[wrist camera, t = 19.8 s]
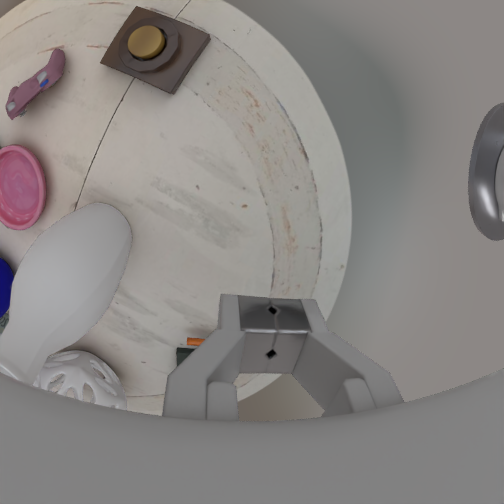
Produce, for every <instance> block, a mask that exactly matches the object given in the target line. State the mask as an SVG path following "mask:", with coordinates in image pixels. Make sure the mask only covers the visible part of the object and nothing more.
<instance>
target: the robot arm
mask: <svg viewBox="0 0 504 504" xmlns="http://www.w3.org/2000/svg"><path fill="white" fill-rule="evenodd" d="M495 193H496V199H497V202H498V206H499V220H501V221H503V222H504V148H503V150H502V152H501V154H500V157H499V160H498V164H497V169H496V176H495ZM239 373H280V374H292V375H293V376H294V377H295V379H296V380H297V381H298V382H299V383H300V384H301V385H302V386H303V388H304V389H305V390H306V391H307V392H308V393H309V394H310V395H311V396H312V397H313V398H314V399H315V401H316V402H317V403H318V404H319V405H320V406H321V407H322V408H323V409H324V410H325V412H324V413H323V414H322V416H321V417H319V418H310V419H297V420H282V421H239V416H238V403H237V391H236V386H235V385H234V384H233V382H234V381H235V379H236V378H237V376H238V375H239ZM0 504H504V368H503V369H501V370H499V371H496V372H494V373H492V374H489V375H487V376H484V377H482V378H479V379H477V380H474V381H472V382H469V383H466V384H464V385H461V386H458V387H455V388H452V389H449V390H446V391H443V392H440V393H437V394H434V395H430V396H427V397H423V398H420V399H416V400H413V401H409V402H404V400H403V398H402V396H401V394H400V392H399V390H398V388H397V386H396V384H395V382H394V380H393V378H392V376H391V374H390V372H388V371H387V370H385V369H384V368H383V367H381V366H380V365H378V364H377V363H375V362H374V361H373V360H371V359H370V358H368V357H367V356H366V355H364V354H363V353H362V352H360V351H359V350H357V349H356V348H355V347H353V346H352V345H350V344H349V343H348V342H346V341H345V340H343V339H342V338H341V337H339V336H338V335H337V334H335V333H333V332H332V333H331V332H329V330H328V328H327V325H326V323H325V321H324V318H323V316H322V314H321V311H320V309H319V307H318V305H317V302H316V300H314V299H280V298H267V297H255V296H243V295H231V294H221V296H220V304H219V313H218V324H217V329H215V330H214V331H213V332H212V333H211V334H210V335H209V336H208V337H207V338H206V339H205V340H204V341H203V342H202V343H201V344H200V345H199V346H198V347H197V348H196V349H195V350H194V351H193V352H192V353H191V354H190V355H189V356H188V357H187V358H186V359H185V360H184V361H183V362H182V363H181V364H180V365H179V366H177V367H176V368H175V369H174V370H173V371H172V372H171V373H170V374H169V375H168V378H167V384H166V391H165V398H164V406H163V413H162V416H158V415H150V414H144V413H138V412H132V411H126V410H121V409H116V408H111V407H106V406H102V405H97V404H93V403H89V402H85V401H81V400H77V399H74V398H70V397H67V396H63V395H60V394H57V393H54V392H51V391H47V390H44V389H42V388H39V387H36V386H33V385H30V384H28V383H25V382H22V381H20V380H17V379H15V378H12V377H10V376H7V375H5V374H3V373H1V372H0Z"/></svg>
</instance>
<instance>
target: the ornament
mask: <svg viewBox="0 0 504 504" xmlns="http://www.w3.org/2000/svg"><path fill="white" fill-rule="evenodd" d="M13 280H14V276H13V273H12V270H11V268H10V267H9V265H8V264H7V263H6V262H5V261H4V260H3V259H2V258H0V318H1V317H2V316H3V315H4V314H5V313H6V312H7V310H8V309H9V307H10V299H11V289H12V283H13Z"/></svg>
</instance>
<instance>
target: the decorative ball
mask: <svg viewBox="0 0 504 504" xmlns="http://www.w3.org/2000/svg"><path fill="white" fill-rule="evenodd" d="M92 367H93V368H95V369H97V370H99V371H100V372H102V373H103V375H104V376H105V378H104V379H103V378H102V377H101V376H99V375H98V374H97V373H96V372H95V370H94V369H93V368H92ZM62 373H63V375H62V376H61V377H60V378H58V379H57V380H55V381H53V382H51V380H52V379H53V378H54V377H55V376H56V375H58V374H62ZM61 383H63V385H62V387H61V388H60V389H59V390H58V391H56V392H54V393H57V394H60V395H63V396H66V393H67V391H68V389H69V388H72V390H73V392H74V397H75V399H77V400H81V401H83V386H84V384H87V385H89V386H90V387H91V388H92V390H93V396H92V399H91V401H90V403H93V404H97V405H102V406H106V407H111V408H116V409H121V410H126V411H127V400H126V395H125V391H124V389H123V386H122V384H121V382H120V380H119V378H118V377H117V375H116V374H115V373H114V371H113V370H112V369H111V368H110V367H109V366H108V365H107V364H106V363H105V362H103V361H102V360H101V359H100V358H98V357H97V356H95V355H93V354H91V353H89V352H86V351H79V350H72V351H66V352H62V353H59V354H56V355H53V356H51V357H49V358H47V360H46V361H45V363H44V365H43V367H42V369H41V370H40V372H39V374H38V376H37V378H36V380H35V382H34V386H36V387H39V388H42V389H44V390H47V391H49V390H50V389H52V388H53V387H55V386H57V385H59V384H61ZM111 392H112V393H113V394H114V395H115V396H114V395H111ZM95 402H96V403H95ZM115 405H116V406H115Z"/></svg>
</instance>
